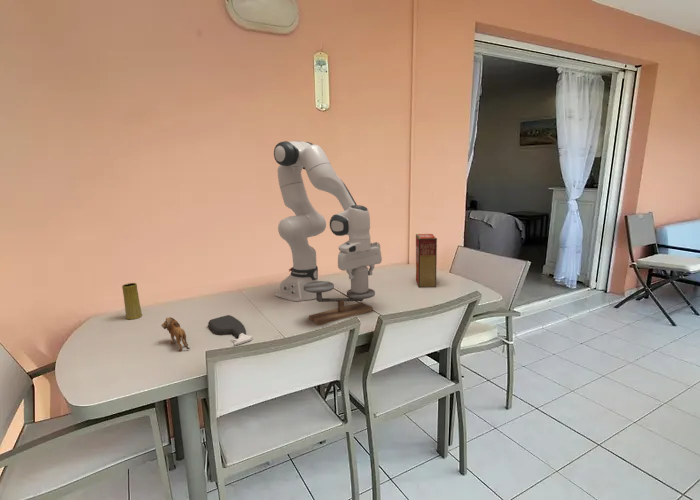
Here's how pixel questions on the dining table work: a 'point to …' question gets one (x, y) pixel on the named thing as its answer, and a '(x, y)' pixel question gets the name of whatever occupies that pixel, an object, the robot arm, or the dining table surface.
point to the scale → (341, 310)
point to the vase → (131, 301)
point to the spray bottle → (230, 328)
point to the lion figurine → (175, 332)
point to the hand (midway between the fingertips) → (360, 277)
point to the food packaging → (426, 260)
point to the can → (359, 280)
